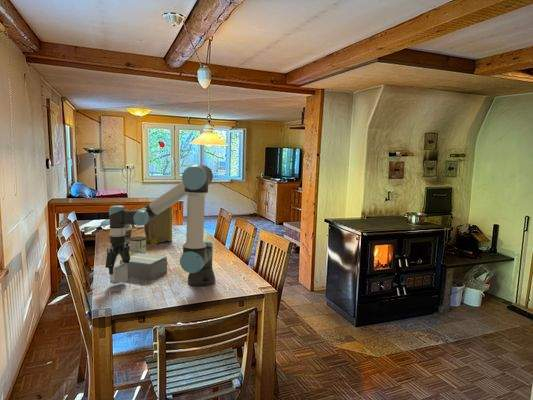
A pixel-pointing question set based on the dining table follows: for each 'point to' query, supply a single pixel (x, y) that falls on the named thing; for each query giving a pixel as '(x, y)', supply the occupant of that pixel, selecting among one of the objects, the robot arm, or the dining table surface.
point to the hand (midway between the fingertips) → (118, 277)
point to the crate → (147, 270)
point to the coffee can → (137, 245)
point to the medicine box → (120, 274)
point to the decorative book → (159, 227)
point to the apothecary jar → (128, 234)
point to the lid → (144, 259)
